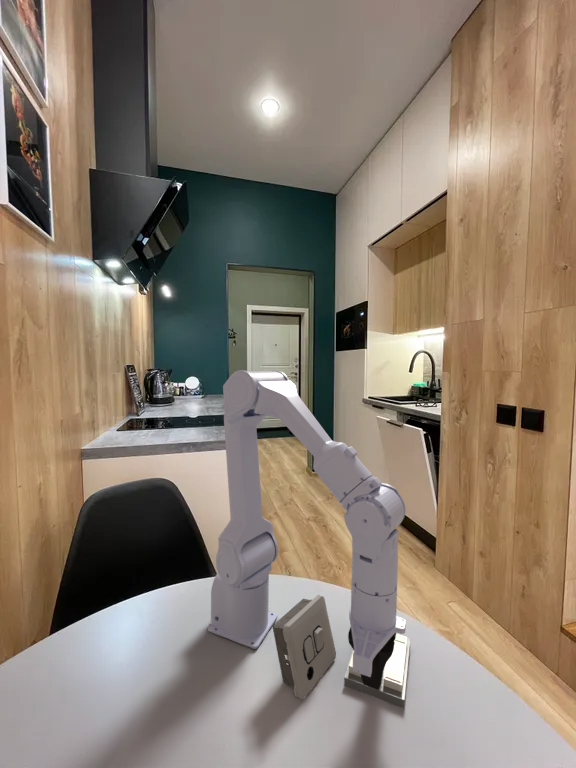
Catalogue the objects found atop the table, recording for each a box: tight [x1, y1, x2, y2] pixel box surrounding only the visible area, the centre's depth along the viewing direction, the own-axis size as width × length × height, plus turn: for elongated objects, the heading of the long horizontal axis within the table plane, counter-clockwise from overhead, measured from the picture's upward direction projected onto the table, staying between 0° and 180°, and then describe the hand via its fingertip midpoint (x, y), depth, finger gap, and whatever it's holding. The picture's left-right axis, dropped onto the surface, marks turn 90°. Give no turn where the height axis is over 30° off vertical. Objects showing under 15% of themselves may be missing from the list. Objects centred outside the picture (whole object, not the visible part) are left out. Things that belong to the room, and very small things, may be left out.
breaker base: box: [343, 633, 411, 709], centre depth 51 cm, size 8×11×2 cm
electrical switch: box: [272, 594, 337, 700], centre depth 50 cm, size 9×5×9 cm, turn 141°
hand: (371, 682), depth 45 cm, fingers closed
